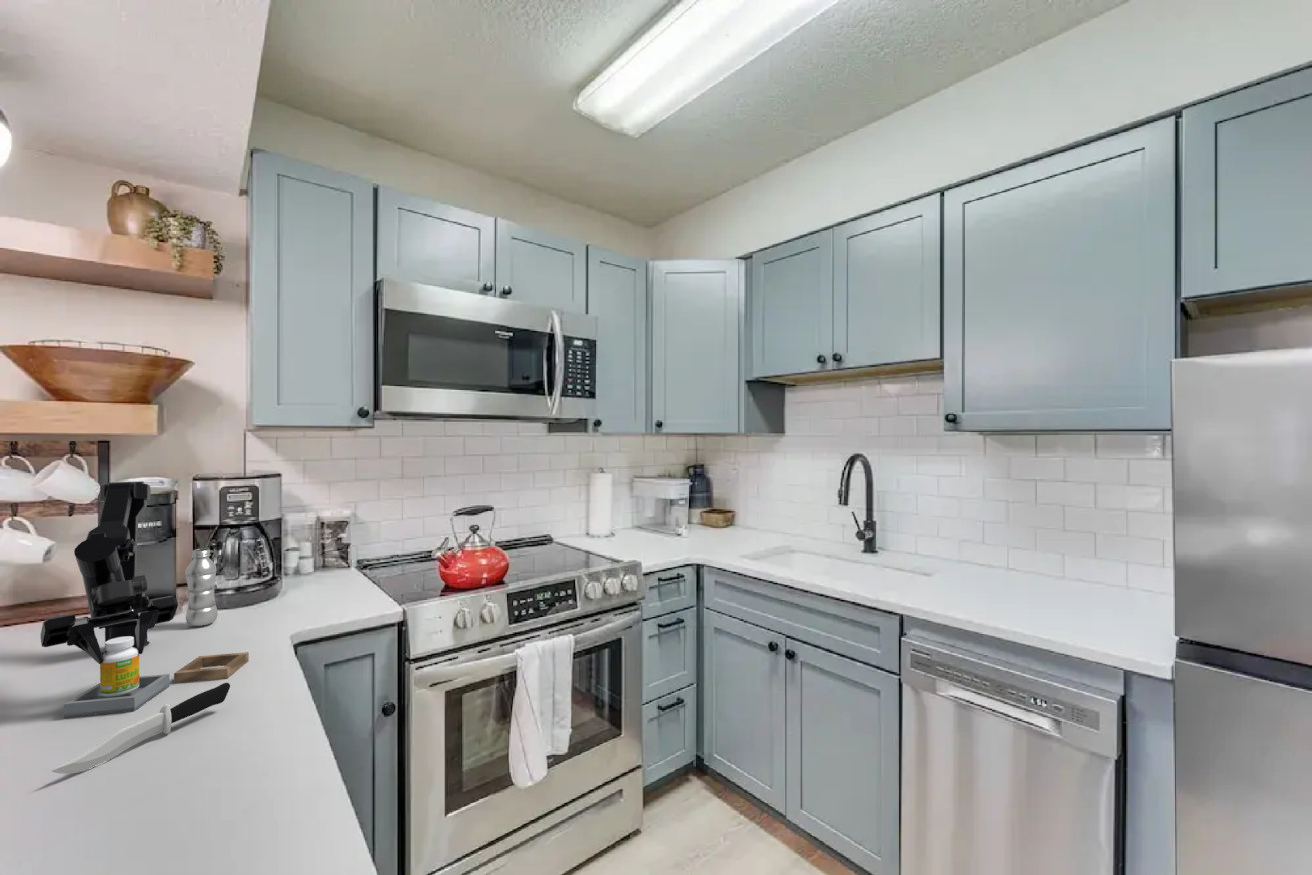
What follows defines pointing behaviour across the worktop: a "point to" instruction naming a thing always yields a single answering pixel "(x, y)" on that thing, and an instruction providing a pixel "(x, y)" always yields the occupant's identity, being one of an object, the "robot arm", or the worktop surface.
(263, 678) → the worktop surface
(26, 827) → the worktop surface
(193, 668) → the wooden frame
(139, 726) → the knife
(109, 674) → the supplement bottle
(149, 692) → the tray
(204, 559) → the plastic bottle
